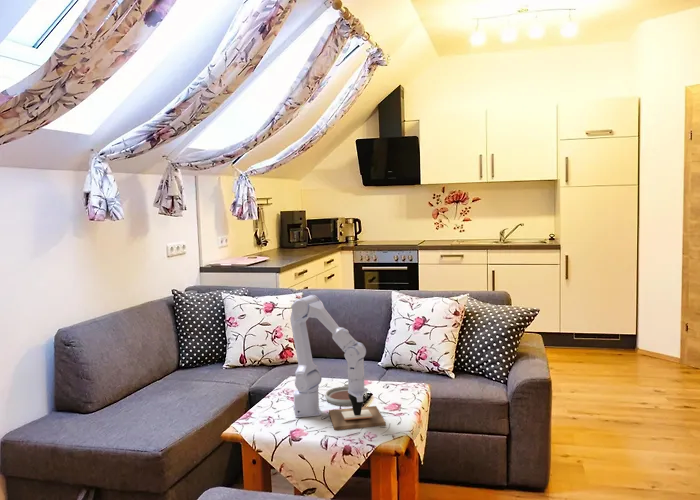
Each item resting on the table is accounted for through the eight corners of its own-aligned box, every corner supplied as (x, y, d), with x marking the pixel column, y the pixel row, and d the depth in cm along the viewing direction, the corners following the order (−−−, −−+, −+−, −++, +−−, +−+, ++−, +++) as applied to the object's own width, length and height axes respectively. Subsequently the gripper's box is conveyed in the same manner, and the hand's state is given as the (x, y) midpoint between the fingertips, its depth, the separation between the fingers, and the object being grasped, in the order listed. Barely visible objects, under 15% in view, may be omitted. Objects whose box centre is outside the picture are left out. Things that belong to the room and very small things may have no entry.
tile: (340, 411, 223) (341, 413, 223) (344, 417, 215) (344, 420, 215) (367, 409, 225) (367, 411, 225) (372, 415, 216) (372, 417, 216)
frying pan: (377, 379, 259) (361, 401, 232) (377, 385, 259) (361, 408, 232) (338, 377, 263) (319, 398, 236) (339, 383, 263) (319, 405, 237)
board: (334, 430, 212) (334, 426, 211) (328, 413, 227) (328, 410, 227) (385, 425, 214) (385, 422, 214) (376, 409, 230) (376, 405, 230)
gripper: (371, 383, 210) (372, 421, 212) (363, 370, 224) (364, 406, 226) (350, 385, 209) (352, 423, 211) (344, 372, 223) (345, 408, 225)
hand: (357, 414), depth 218 cm, fingers closed, pressing on tile
